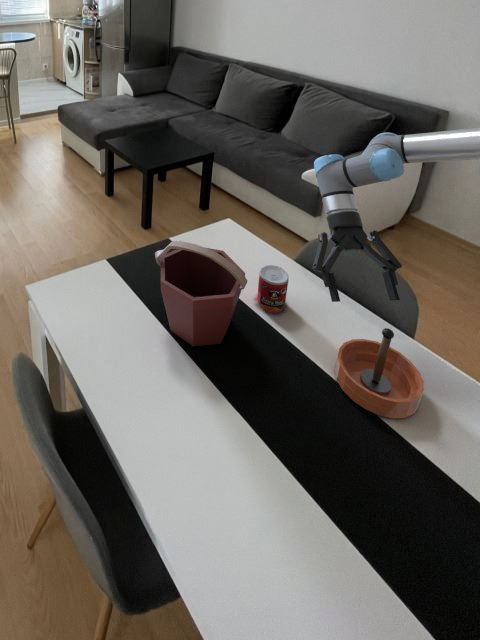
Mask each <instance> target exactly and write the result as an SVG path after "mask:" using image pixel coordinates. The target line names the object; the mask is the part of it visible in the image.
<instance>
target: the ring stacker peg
mask: <svg viewBox="0 0 480 640" xmlns="http://www.w3.org/2000/svg"><path fill="white" fill-rule="evenodd" d="M381 335H382V336H381V341H380V343H381V345H380V348H379V352H378V356H377V360H376V364H375V368H374V370H372V369H366V370H363V371H362V372H361V376H360V381H361V383H362V385H363V386H364V387H365V388H366V389H368V390H370V391H372V392H374V393H376V394H379V395H381V396H385V395H388V394H389V393H390V391H391V383H390V381H389V379H388V378H387V377H386V376H385V375H383V374H382V373H383V369H384V365H385V361H386V358H387V354H388V350H389V347H391V342H392V339H393V338H394V337H395V333H394V331H393V330H392V329H391V328H388V327H386V328H382V331H381Z"/></svg>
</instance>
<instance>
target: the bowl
mask: <svg viewBox="0 0 480 640" xmlns="http://www.w3.org/2000/svg"><path fill="white" fill-rule="evenodd" d="M380 345H381V342H379V341H376V340H371V339H366V338H356V339H355V338H354V339H349V340H348V341H345V342H343V343H342V344H341V346H340V347H338V352H337V357H336V362H335V367H334V375H335V380H336V382H337V383H338V385H339V387H340V389H341V390H342V392H344V393H345V394H346V395H347V396H348V398H349V399H351V400H352V401H353V402H354V403H355V404H357V405H359V406H360V407H361V408H363V409H365V410H366V411H367V412H371V413H372V414H375V415H378V416H380V417H383V418H389V419H407V418H408V417H410V416H412V415H414V414H415V413H416V412H417V410H418V408H419V407H420V403H421V400H422V398H423V394H424V391H425V383H424V382H425V381H424V379H423V377H422V374H421V372H420V370H419V369H418V368H417V367H416V366H415V365H414V363H413V362H412V360H410V359H409V358H408V357H406V356H405V355H404V354H402V353H401V352H400V351H398V350H397V349H394V348H393V347H391V346H389V350H388V354H387V358H386V361H385V365H384V369H383V373H382V374H383V375H385V376H386V377H387V378H388V379H389V381H390V383H391V391H390V393H389V394H388V395H385V396H381V395H379V394H376V393H374V392H372V391H370V390H368V389H366V388H365V387H364V386H363V385H362V383H361V381H360V376H361V372H362V371H363V370H366V369H372V370H374V368H375V364H376V360H377V356H378V352H379V348H380Z"/></svg>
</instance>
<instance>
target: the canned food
mask: <svg viewBox="0 0 480 640" xmlns="http://www.w3.org/2000/svg"><path fill="white" fill-rule="evenodd" d="M289 277H290V276H289V274H288V272H287V270H285V269H284V268H283V267H280V266H278V265H274V264H267V265H264V266H262V267H261V268H260V270H259V276H258V283H257V293H256V295H257V296H256V300H257V304H258V305H259V307H260V308H261V309H262V310H264V311H266V312H267V313H274V314H275V313H280V312H281V311H283V310H284V308H285V307H286V299H287V292H288V286H289Z"/></svg>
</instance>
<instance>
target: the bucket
mask: <svg viewBox="0 0 480 640" xmlns="http://www.w3.org/2000/svg"><path fill="white" fill-rule="evenodd" d="M170 250H172V251H170ZM169 251H170V252H169ZM154 257H155V263H156V264H157V265H158V266H159V268H160V294H161V297H162V301H163V306H164V309H165V312H166V318H167V321H168V326H169V329H170V332H172V333H173V334H175V335H176V336H177V337H179V338H181V339H182V340H183V341H185V342H186V343H187V344H189V346H190V345H191V346H192V347H202V346H203V347H204V346H212V345H221V344H222V342H223V340H224V337H225V335H226V334H227V331H228V330H229V327H230V325H231V322H232V319H233V316H234V314H235V310H236V308H237V305H238V302H239V299H240V296H241V293H242V290H244V289H245V288H246V287H247V284H248V279H247V278H246V272H245V271H244V270H243V269H242V268H241V267H240V266H239V265H238V264H237V263H236V261H234V260H233V259H232V258H231V257H230V256H229V255H228V254H227V253H226V252H225V251H224V250H221V249H215V248H210V247H205V246H202V245H199V244H196V243H191V242H187V241H182V240H172V241H171V242H170V243H169V244H168V245H167V246H166V247H165V248H164V249H159V250H157V251H156V252H154Z"/></svg>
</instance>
